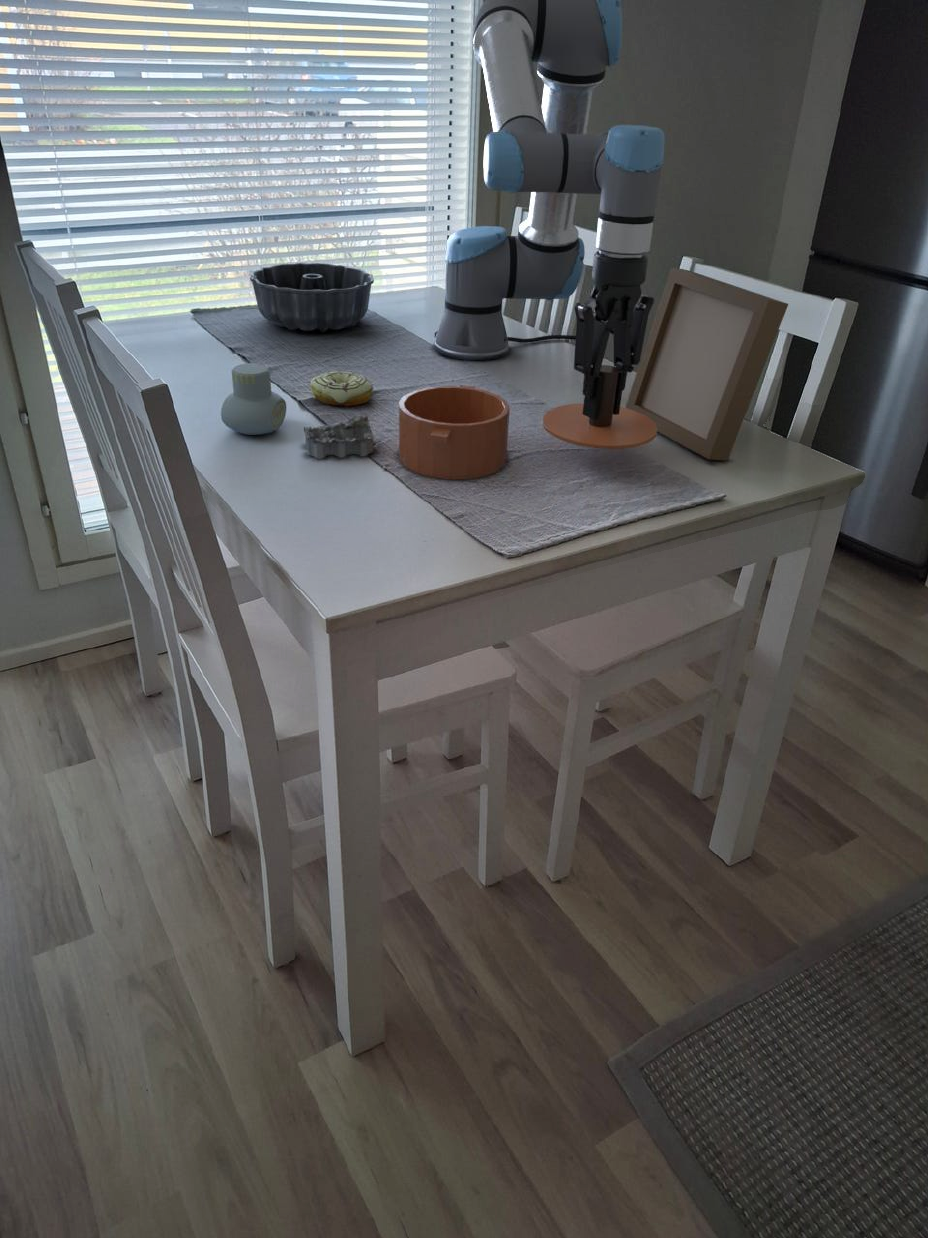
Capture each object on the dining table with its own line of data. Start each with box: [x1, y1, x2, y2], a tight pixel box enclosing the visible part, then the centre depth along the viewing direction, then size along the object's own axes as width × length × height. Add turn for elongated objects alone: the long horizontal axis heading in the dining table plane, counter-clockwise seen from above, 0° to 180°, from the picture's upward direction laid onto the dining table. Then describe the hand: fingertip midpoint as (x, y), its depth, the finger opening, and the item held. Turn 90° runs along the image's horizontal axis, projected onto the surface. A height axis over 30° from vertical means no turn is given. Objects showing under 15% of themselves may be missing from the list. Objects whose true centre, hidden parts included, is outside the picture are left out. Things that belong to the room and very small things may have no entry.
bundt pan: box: [249, 262, 375, 333], centre depth 197 cm, size 26×26×10 cm
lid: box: [542, 364, 658, 450], centre depth 137 cm, size 18×18×10 cm
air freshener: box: [220, 362, 287, 436], centre depth 145 cm, size 11×8×10 cm
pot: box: [398, 384, 510, 480], centre depth 139 cm, size 17×22×8 cm
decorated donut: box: [310, 370, 374, 407], centre depth 160 cm, size 10×11×4 cm
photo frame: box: [624, 266, 789, 462], centre depth 147 cm, size 15×22×25 cm
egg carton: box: [303, 415, 375, 460], centre depth 141 cm, size 11×8×4 cm
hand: (600, 413), depth 139 cm, fingers closed on lid, 4 cm apart
